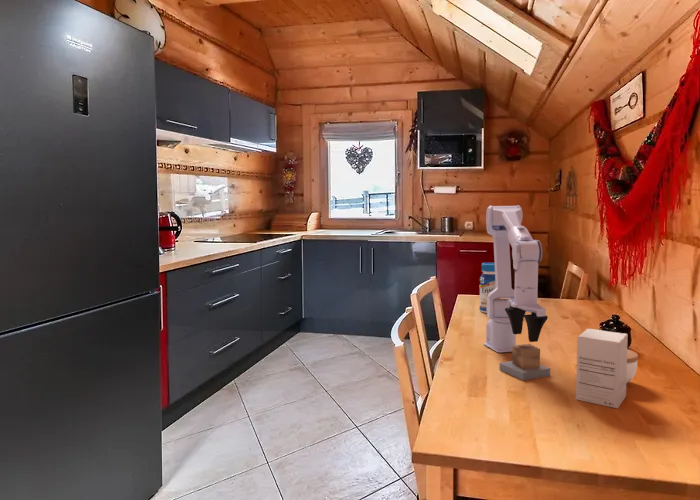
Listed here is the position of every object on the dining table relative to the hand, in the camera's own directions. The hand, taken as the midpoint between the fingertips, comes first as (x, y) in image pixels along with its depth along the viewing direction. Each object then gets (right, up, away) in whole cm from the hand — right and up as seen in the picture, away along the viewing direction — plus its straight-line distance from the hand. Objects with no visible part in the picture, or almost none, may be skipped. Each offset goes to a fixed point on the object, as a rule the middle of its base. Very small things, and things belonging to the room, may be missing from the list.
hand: (525, 337), depth 132 cm
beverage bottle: (+12, -3, +75) cm, 76 cm away
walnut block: (0, -8, +1) cm, 8 cm away
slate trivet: (0, -10, +1) cm, 10 cm away
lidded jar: (+19, -10, -7) cm, 23 cm away
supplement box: (+11, -11, -17) cm, 23 cm away
